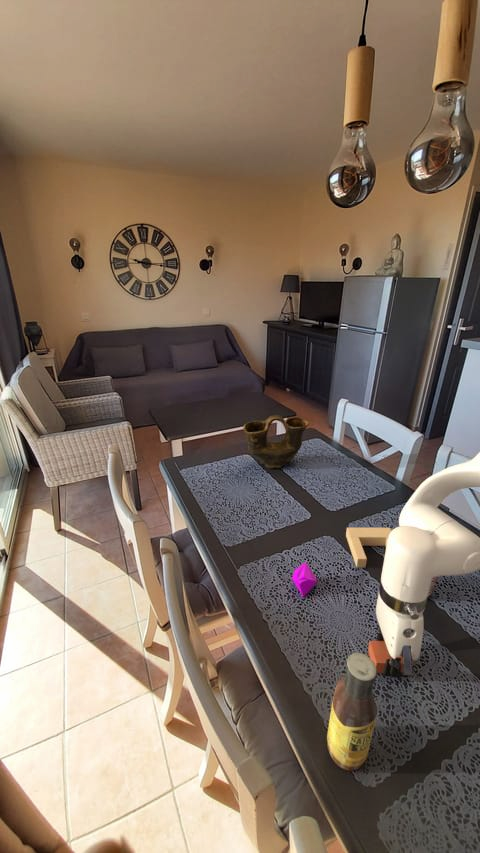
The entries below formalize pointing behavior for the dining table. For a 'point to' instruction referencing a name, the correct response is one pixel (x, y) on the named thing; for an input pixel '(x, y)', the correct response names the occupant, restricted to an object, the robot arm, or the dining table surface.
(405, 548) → the robot arm
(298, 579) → the crystal
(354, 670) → the sauce bottle
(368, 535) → the tan u-shaped block
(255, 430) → the pottery vessel
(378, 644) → the terracotta block
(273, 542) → the dining table surface
